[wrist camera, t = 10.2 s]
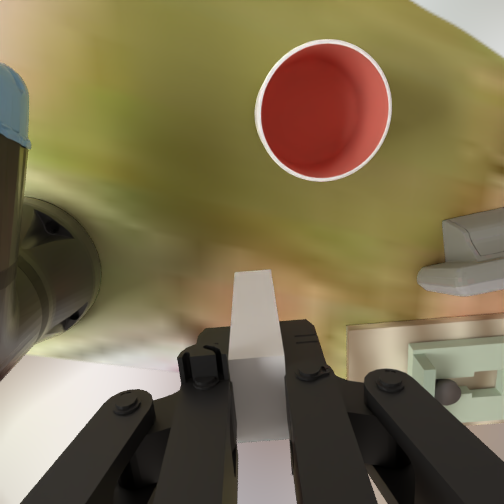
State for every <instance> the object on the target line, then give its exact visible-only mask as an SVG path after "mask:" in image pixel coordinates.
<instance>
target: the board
mask: <svg viewBox="0 0 504 504" xmlns="http://www.w3.org/2000/svg"><path fill="white" fill-rule="evenodd" d="M498 336H504V313H498V314H486V315H473V316H461V317H448V318H435V319H423V320H410V321H398V322H385V323H373V324H360V325H348V326H346V349H347V380H350V381H356V382H363V383H364V378H365V376H366V375H367V374H368V373H369V372H371V371H374V370H376V369H385V368H387V369H396V370H399V371H402V372H405V373H407V370H408V344H409V343H422V342H434V341H447V340H460V339H472V338H485V337H498ZM496 378H497V370H490V371H477V372H474V376H473V377H460V378H447V379H435V396H434V398H435V399H437V400H438V401H439V402H440V403H441V404H442V405H445V406H448V405H452V404H454V403H456V402H457V401H458V400H459V399H460V397H461V389H460V388H459V386H467V387H468V389H469V390H474V389H487V388H495V387H496ZM494 423H504V420H491V421H478V422H465V423H462V424H463V425H465V426H469V425H481V424H494Z"/></svg>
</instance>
